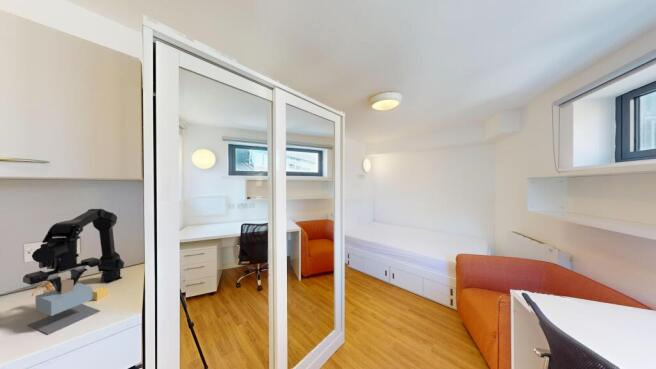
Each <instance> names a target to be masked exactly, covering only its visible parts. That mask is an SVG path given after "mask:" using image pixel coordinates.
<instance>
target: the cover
mask: <svg viewBox="0 0 656 369" xmlns="http://www.w3.org/2000/svg"><path fill="white" fill-rule="evenodd" d="M92 291H93V286H90V285H86V284H84V283H81V282H78V281H77V282H76V284H75V285H74V280H73V279H71V277H70V278H66V279H61V290H60V292H57V291H56V289H55V288H54V290H52V291H48V292H46V293H44V292H43V293H40V294H37V295H35V310H36V311H39V312H41V313H43V314H45V315H48V316H52V315H55V314H57V313H60V312H62V311H65V310H67V309H70V308H72V307H75V306H77V305H80V304H84V303H87V302H89V301H92V300H93V299H92Z"/></svg>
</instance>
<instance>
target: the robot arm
mask: <svg viewBox="0 0 656 369" xmlns="http://www.w3.org/2000/svg"><path fill="white" fill-rule="evenodd" d="M117 221H118V216H117V214H115V213H114V212H110V211H108V210H105V209H104V208H90V209H88V210H87V211H85V212H84V213H82V214H80V215H78V216H76V217H74V218H72V219H70V220H63V221H60V222H56V223H54V224H52V225H51V226H50V228H49V229H48V231H47V233H46V235H45V236H44V238H43V240H42V242H41V244H40V247H39V248H37V249H36V250H34V251H33V253H32V254H31V258H32V259H33V261H35V262H36V263H38V267H39V269H44V268H46V269H47V270H48V271H43V270H38V271H34V272H31V273H26V274H25V275H24V276H23V277H22V283H25V284H27V285H30V286H33V285H36V284H40V283H43V282H51V283H52V287H53V288H54V290H55V289H56V291H57V292H60V290H61V281H62V277H61V276H59V274H62V273H66V272H69V271H70V279H73V280H74V285H75V284H76V283H77V282H78V281H79V279H80V278H81V277H82V275H83V274H84V273H85V272H87V271H88V268H86V267H87V266H88V267H90V268H95V267H97V268H98V269H97V270H98V272H102V273H101V277H100V278H101V279H100V282H101V283H105V284H109V283H113V282H115V281H118V280H120V279H123V276H121V270H122V269H124V266H125V261H124V260H122V258H121V255H120V253H117V252H116V249H115V246H116V245H115V240H114V226H115V225H116V224H117ZM90 223H92V225H93V228H95V229H96V230H97V231H98V232H99V233H98V234H99V240H100V241H99V242H100V249H101V256H100V258H97V257H90V258H85V259H81V261H80V262H79V263H78V257H80V256H79V253H78V240H79V239H81V236H80V234H81V233H82V232H84V227H85V226H88V225H89V224H90Z"/></svg>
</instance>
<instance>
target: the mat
mask: <svg viewBox="0 0 656 369" xmlns="http://www.w3.org/2000/svg"><path fill="white" fill-rule="evenodd" d="M99 312H101V310H99V309H97V308H95V307H91V306H90V305H89V306H88V305H86V304H84V303H82V304H80V305H77V306H75V307H72V308H70V309H67V310H65V311H62V312H60V313H57V314H55V315H52V316H50V315H48V316H45V317H43V318H41V319H38V320H35V321H33V322H31V323H29V324H28V323H27V326H28V327H30V328H32V329H33V330H37V331H38V332H41V333H43V334H45V335H47V336H48V335H50V334H53V333H55V332H57V331H60V330H62V329H64V328H66V327H68V326H70V325H73V324H75V323H77V322H80V321H82V320H84V319H87V318H88V317H90V316H93V315H96V313H99Z"/></svg>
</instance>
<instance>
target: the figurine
mask: <svg viewBox="0 0 656 369" xmlns="http://www.w3.org/2000/svg"><path fill="white" fill-rule="evenodd" d="M42 287H44V288H45V289H44V290H43V293H46V292H49V291H52V290H55V288H54V287H53V285H52V283H51V282H48V281H45V283H42V284H41V285H38V286H37V287H36V288H35V290H33V291H32V294H31V297H33V296H34V294H35V293H36V292H37V290H38V289H39V288H42Z"/></svg>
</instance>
